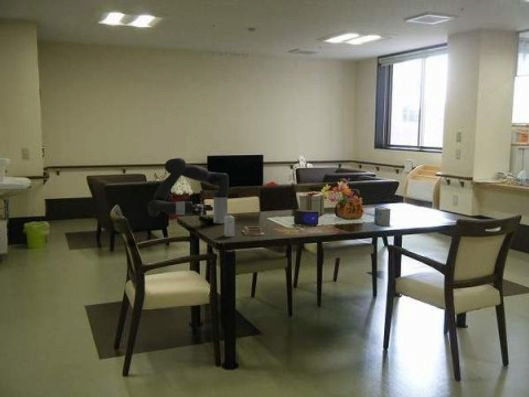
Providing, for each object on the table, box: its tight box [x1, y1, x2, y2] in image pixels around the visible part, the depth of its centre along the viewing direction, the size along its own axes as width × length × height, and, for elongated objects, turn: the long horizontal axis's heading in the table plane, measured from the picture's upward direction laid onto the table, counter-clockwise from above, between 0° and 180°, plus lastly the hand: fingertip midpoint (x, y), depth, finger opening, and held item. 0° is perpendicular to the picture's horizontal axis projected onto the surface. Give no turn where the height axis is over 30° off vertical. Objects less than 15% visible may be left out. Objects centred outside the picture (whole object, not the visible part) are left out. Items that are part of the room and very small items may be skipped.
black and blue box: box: [293, 209, 320, 226], centre depth 350 cm, size 16×5×9 cm, turn 81°
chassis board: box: [241, 225, 265, 237], centre depth 318 cm, size 13×11×4 cm
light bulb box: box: [373, 206, 391, 226], centre depth 358 cm, size 11×7×11 cm, turn 14°
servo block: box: [224, 215, 235, 238], centre depth 311 cm, size 5×5×12 cm
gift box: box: [298, 190, 326, 217], centre depth 392 cm, size 17×18×17 cm
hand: (211, 207), depth 307 cm, fingers open, 8 cm apart
